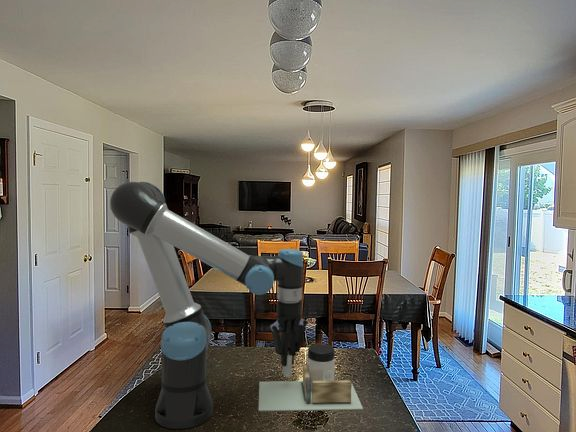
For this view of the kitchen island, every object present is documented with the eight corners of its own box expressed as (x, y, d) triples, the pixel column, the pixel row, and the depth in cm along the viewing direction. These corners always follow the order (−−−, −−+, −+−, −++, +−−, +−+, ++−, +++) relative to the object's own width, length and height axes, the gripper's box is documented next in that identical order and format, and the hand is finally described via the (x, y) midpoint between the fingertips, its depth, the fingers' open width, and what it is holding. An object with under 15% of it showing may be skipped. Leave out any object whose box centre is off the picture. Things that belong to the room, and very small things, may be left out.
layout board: (258, 411, 115) (258, 409, 115) (259, 382, 132) (259, 381, 132) (363, 409, 116) (363, 408, 116) (350, 381, 133) (350, 380, 133)
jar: (316, 396, 123) (317, 356, 122) (300, 384, 130) (301, 346, 129) (340, 388, 128) (341, 350, 127) (323, 378, 134) (324, 341, 134)
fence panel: (310, 399, 120) (310, 379, 120) (305, 399, 120) (305, 379, 120) (307, 381, 131) (307, 363, 131) (302, 381, 131) (302, 363, 131)
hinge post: (305, 405, 118) (306, 379, 118) (305, 402, 120) (305, 377, 119) (310, 405, 118) (311, 379, 118) (310, 402, 120) (310, 377, 119)
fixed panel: (312, 402, 118) (312, 383, 118) (312, 400, 120) (312, 380, 119) (351, 402, 119) (351, 382, 119) (350, 399, 120) (350, 380, 120)
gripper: (277, 305, 121) (275, 384, 123) (314, 300, 128) (311, 375, 130) (264, 299, 127) (262, 374, 129) (300, 294, 135) (297, 366, 136)
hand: (287, 375), depth 129 cm, fingers closed
